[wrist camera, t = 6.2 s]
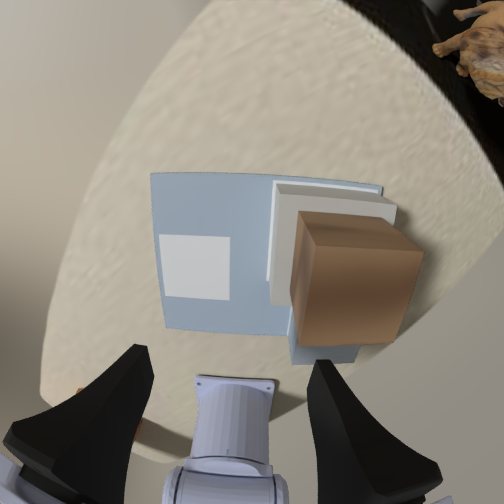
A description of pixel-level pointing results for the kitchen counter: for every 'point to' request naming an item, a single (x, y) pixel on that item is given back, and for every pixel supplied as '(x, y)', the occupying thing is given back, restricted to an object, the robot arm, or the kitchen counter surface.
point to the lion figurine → (480, 48)
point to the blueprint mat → (221, 249)
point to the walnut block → (350, 279)
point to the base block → (315, 200)
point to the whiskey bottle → (137, 428)
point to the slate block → (318, 350)
